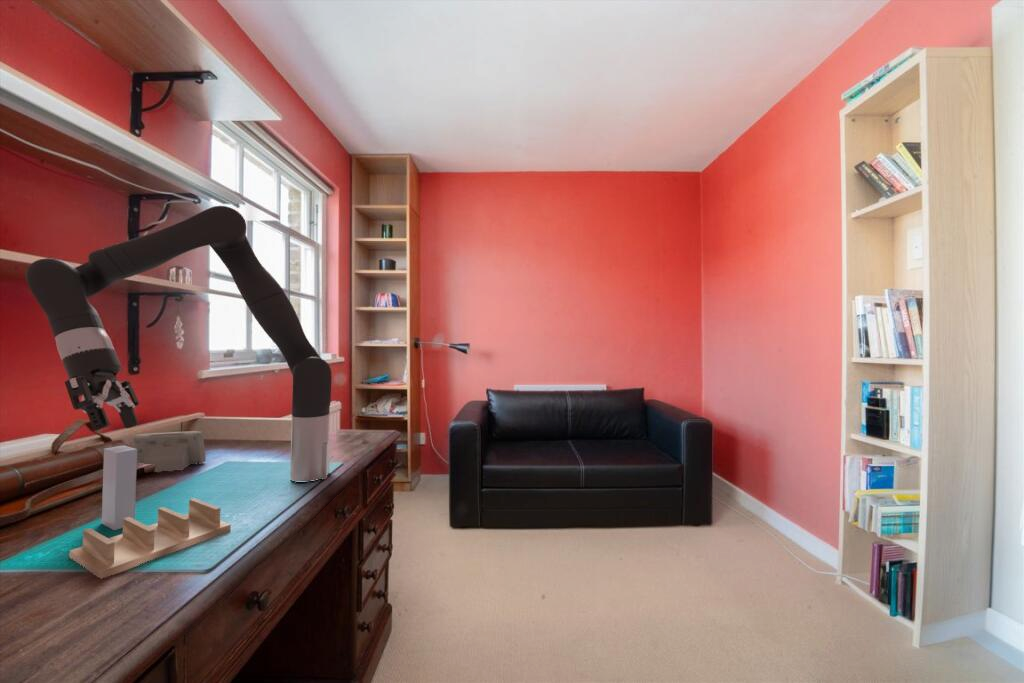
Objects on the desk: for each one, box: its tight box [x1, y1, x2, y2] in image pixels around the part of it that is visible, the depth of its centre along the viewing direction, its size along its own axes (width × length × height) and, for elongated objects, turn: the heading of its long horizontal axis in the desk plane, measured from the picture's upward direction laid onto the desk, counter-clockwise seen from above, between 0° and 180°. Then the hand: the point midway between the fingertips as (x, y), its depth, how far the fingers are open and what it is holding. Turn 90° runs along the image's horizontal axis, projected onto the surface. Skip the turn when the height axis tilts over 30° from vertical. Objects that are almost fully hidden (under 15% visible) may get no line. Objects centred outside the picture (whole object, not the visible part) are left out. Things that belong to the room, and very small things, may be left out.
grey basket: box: [132, 430, 207, 473], centre depth 112 cm, size 16×9×11 cm, turn 100°
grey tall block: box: [101, 445, 138, 531], centre depth 77 cm, size 3×6×15 cm, turn 63°
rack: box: [69, 497, 231, 579], centre depth 70 cm, size 18×13×4 cm
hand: (118, 427), depth 78 cm, fingers open, 8 cm apart
